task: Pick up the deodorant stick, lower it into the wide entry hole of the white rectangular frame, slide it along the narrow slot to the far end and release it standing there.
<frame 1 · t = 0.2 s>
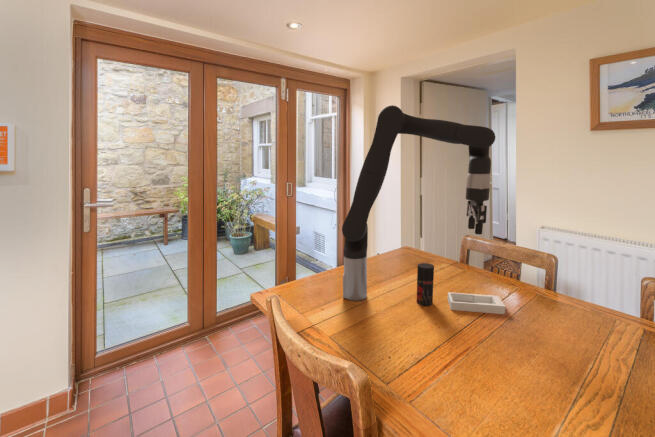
hand: (474, 231, 115), 28 cm above the table, fingers open, 8 cm apart
deodorant: (424, 303, 123), on the table
white rectangular frame: (474, 306, 119), on the table
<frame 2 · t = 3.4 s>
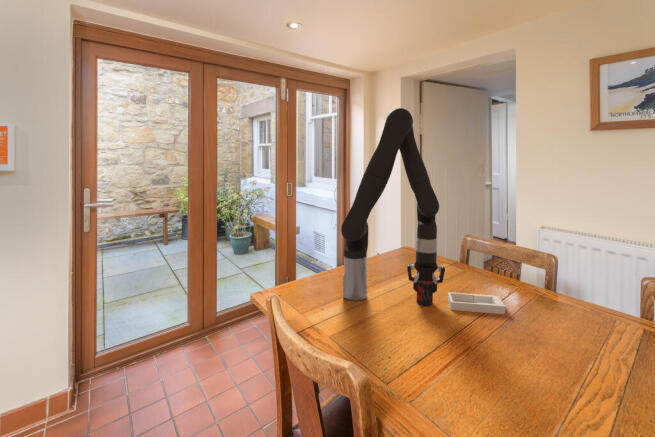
hand: (424, 291, 122), 5 cm above the table, fingers closed on deodorant, 6 cm apart
deodorant: (424, 303, 123), on the table, touching gripper
when the fingers open (5 cm above the table, at t = 9.7 s): deodorant stays where it is, resting in white rectangular frame.
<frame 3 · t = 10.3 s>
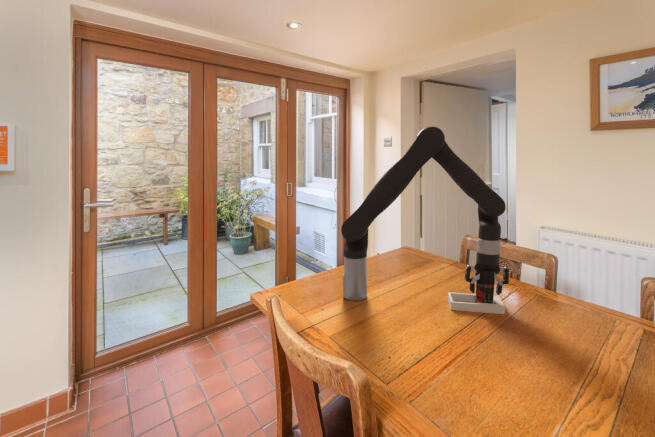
hand: (485, 293, 117), 5 cm above the table, fingers open, 8 cm apart
deodorant: (483, 307, 118), resting in white rectangular frame
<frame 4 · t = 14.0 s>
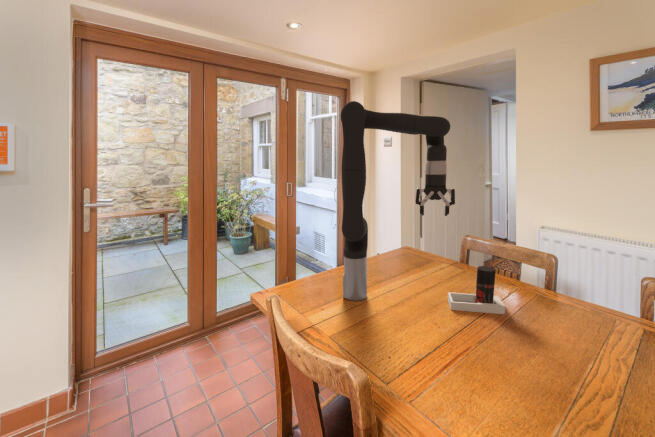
hand: (434, 215, 123), 33 cm above the table, fingers open, 8 cm apart
nothing on the table moved.
at the end: deodorant 0.1 cm from the target spot on the white rectangular frame, point 0.0 cm above the white rectangular frame's base; deodorant tilted 0°; deodorant touching table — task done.
